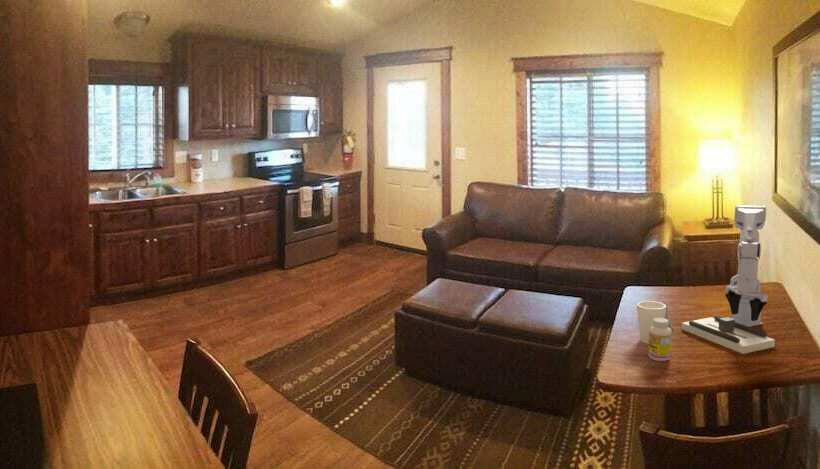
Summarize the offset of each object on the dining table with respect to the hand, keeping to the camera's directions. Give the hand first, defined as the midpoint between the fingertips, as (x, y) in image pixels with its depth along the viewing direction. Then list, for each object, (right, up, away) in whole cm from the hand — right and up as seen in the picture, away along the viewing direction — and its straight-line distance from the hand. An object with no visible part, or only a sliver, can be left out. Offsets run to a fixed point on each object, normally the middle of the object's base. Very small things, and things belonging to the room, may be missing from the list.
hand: (744, 317), depth 200 cm
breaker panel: (-2, -8, +8) cm, 12 cm away
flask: (-20, -7, +19) cm, 28 cm away
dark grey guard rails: (-2, -6, +8) cm, 10 cm away
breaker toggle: (-2, -6, +8) cm, 10 cm away
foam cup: (-28, -10, +8) cm, 31 cm away
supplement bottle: (-31, -12, -7) cm, 34 cm away
